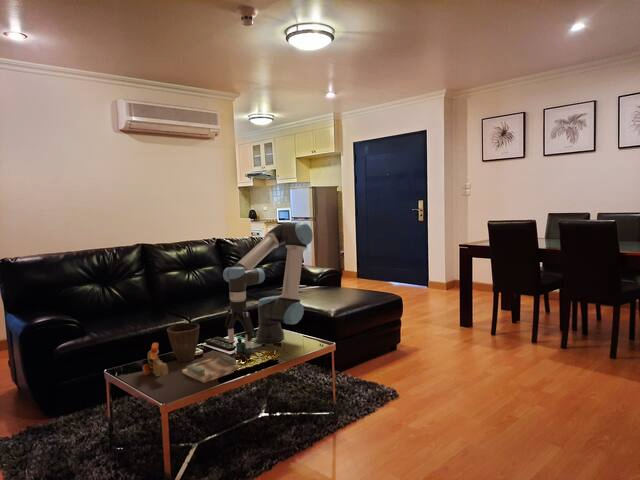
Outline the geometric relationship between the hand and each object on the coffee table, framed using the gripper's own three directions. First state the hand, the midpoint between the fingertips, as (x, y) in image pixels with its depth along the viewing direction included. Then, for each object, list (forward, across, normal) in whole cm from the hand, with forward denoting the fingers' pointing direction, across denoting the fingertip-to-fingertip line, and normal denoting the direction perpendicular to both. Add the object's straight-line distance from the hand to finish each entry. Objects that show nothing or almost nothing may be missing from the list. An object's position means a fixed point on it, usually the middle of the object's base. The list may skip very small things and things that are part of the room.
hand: (239, 345), depth 207 cm
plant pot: (+9, -25, -14) cm, 30 cm away
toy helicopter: (+9, -15, -33) cm, 38 cm away
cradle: (+9, -1, -15) cm, 17 cm away
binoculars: (+8, 0, +1) cm, 9 cm away
